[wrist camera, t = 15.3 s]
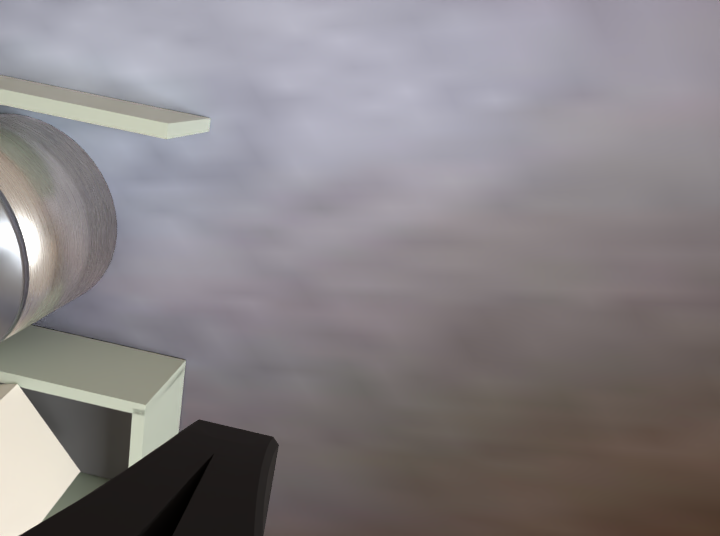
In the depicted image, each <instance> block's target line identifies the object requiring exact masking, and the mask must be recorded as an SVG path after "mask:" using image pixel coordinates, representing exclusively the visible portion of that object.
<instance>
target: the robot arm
mask: <svg viewBox="0 0 720 536" xmlns="http://www.w3.org/2000/svg"><path fill="white" fill-rule="evenodd" d="M278 446H279V445H278V443H277V442H276V440H275V439H274V437H272V436H267V435H263V434H259V433H254V432H250V431H246V430H242V429H237V428H233V427H229V426H224V425H220V424H216V423H212V422H207V421H203V420H198V421H196V422H194V423H193V424H191V425H190V426H188V427H187V428H185V429H184V430H182V431H181V432H179V433H178V434H176V435H175V436H174V437H172V438H171V439H169V440H168V441H167V442H165V443H164V444H162V445H161V446H159V447H158V448H157V449H155V450H154V451H152V452H151V453H149V454H148V455H146V456H145V457H143V458H142V459H141V460H139V461H138V462H136V463H135V464H133V465H132V466H130V467H129V468H127V469H126V470H124V471H123V472H121V473H120V474H118V475H117V476H115V477H114V478H112V479H110V480H109V481H107V482H106V483H104V484H103V485H101V486H100V487H98V488H97V489H95V490H94V491H92V492H91V493H89V494H88V495H86V496H84V497H83V498H81V499H80V500H78V501H76V502H75V503H73V504H71V505H70V506H68V507H66V508H65V509H63V510H61V511H60V512H58V513H56V514H54V515H53V516H51V517H49V518H48V519H46V520H44V521H43V522H41V523H39V524H38V525H36V526H34V527H33V528H31V529H29V530H28V531H26V532H24V533H22V534H21V535H19V536H263V535H264V529H265V523H266V517H267V511H268V505H269V499H270V493H271V487H272V481H273V476H274V470H275V464H276V458H277V452H278Z"/></svg>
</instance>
